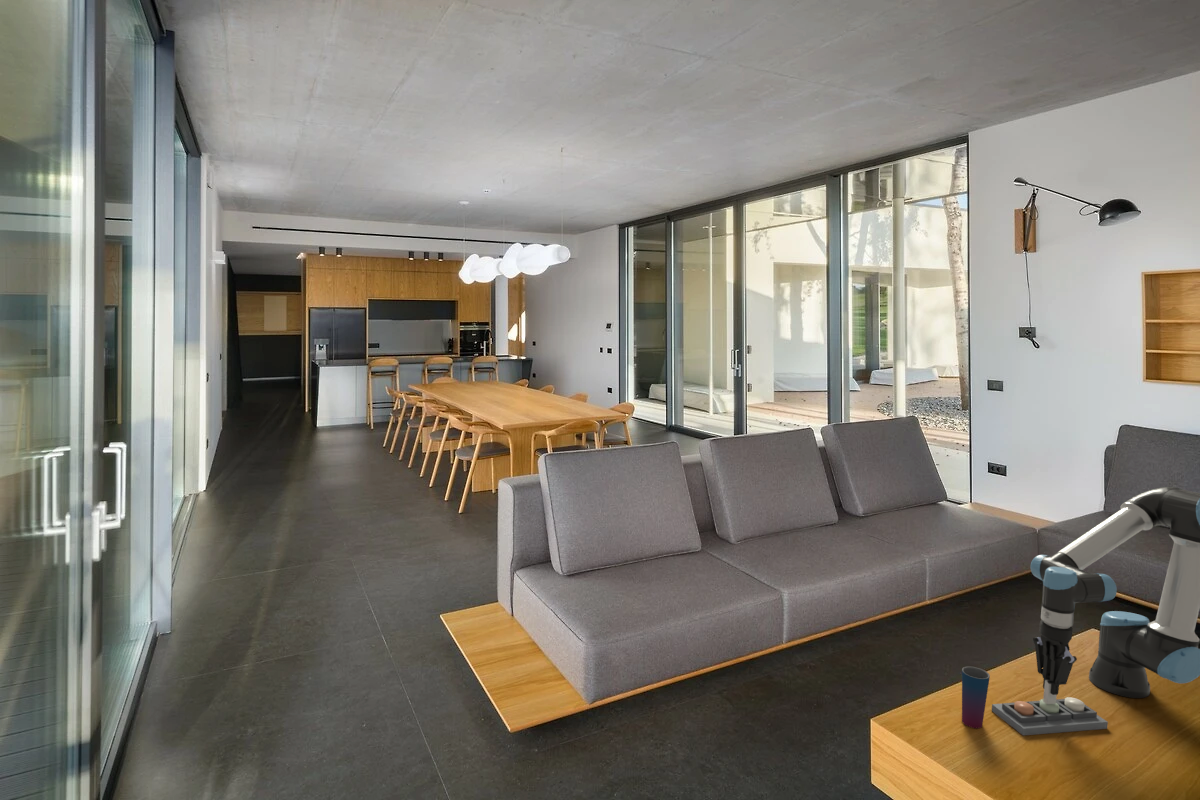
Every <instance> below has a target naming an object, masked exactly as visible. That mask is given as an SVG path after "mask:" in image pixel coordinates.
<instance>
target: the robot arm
mask: <svg viewBox="0 0 1200 800" xmlns="http://www.w3.org/2000/svg"><path fill="white" fill-rule="evenodd" d="M1119 508H1120V509H1119V510H1118V511H1117V512H1114V513H1113V514H1112V515H1111V516H1109V517H1107V518H1106V519H1103V521H1101V522H1100V523H1098V524H1097V525H1096V526H1094V527H1092V528H1091V529H1089V530H1087V532H1085V533H1084V534H1082V535H1081V536H1079V537H1078V538H1076V539H1075V540H1073V541H1072V542H1070V543H1069V544H1067V545H1066V546H1064V547H1063V548H1062V549H1060V550H1058V551H1057V552H1055V553H1054V554H1052V555H1051V556H1050V555H1048V554H1038V555H1036V556H1035V557H1033V559H1032V560H1031V563H1030V572H1031V574H1032V575H1033V576H1034V577H1035V578H1037V579H1039V580H1040V581H1042V599H1041V610H1040V611H1041V612H1040V619H1041V620H1040V622H1039V634H1040V637H1039V636H1038V637H1037V636H1036V637H1032V641H1033V645H1034V647H1035V657H1036V667H1037V673H1038V674H1040V675H1041V676H1042V679H1043V682H1042V687H1043V698H1042V699H1043V702H1044V703H1046V704H1047V705H1048V704H1056V699H1057V695H1059V691H1060V690H1059V689H1060V685H1067V683H1068V679H1069V677H1070V675H1071V671H1072V668H1073V664H1074V663H1075V662H1077V660H1078V658H1077V656H1075V655H1072V654H1071V652H1070V645H1069V643H1070V641H1072V638H1073V626H1074V615H1075V614H1074V613H1075V606H1076V604H1079V603H1080V604H1081V603H1102V602H1107V601H1108V602H1109V601H1111V600H1113V599H1114V598H1115V597H1116V596H1117V592H1118V589H1117V583H1116V582H1115V581H1114V579H1113V578H1112V577H1111V576H1110V575H1108V574H1106V573H1099V572H1094V573H1090V572H1087V571H1085V570H1084V569H1086V568H1088V567H1089V566H1091V565H1092V564H1094V563H1095V562H1097V561H1098V560H1099V559H1101V558H1103V557H1104V556H1105V555H1107V554H1108V553H1110V552H1111V551H1113V550H1114V549H1116V548H1117V547H1119V546H1120V545H1123V544H1124V543H1125V542H1127V541H1128V540H1129V539H1132V537H1134V536H1135V535H1137V534H1138V533H1140V532H1141V531H1150V530H1152V529H1153V528H1154V527H1156V526H1166V527H1170V529H1169V533H1168V535H1169V538H1171V539H1172V541H1173V546H1172V549H1171V553H1170V557H1169V562H1168V566H1167V569H1166V576H1165V578H1164V579H1165V580H1164V583H1163V588H1162V592H1161V595H1160V596H1161V597H1160V600H1159V605H1158V609H1157V613H1156V616H1155V620H1153V621H1150V619H1149V618H1148V617H1147V616H1144V615H1142V614H1137V613H1133V612H1130V611H1129V612H1127V611H1121V610H1119V611H1118V610H1114V611H1113V610H1112V611H1106V612H1104V613H1103V614H1102V616H1101V619H1100V623H1099V635H1098V636H1099V638H1098V648H1097V649H1098V651H1097V657H1096V658H1095V660H1094V662H1093V664H1092V666H1091V668H1090V669H1089V673H1088V679H1089V681H1090V682H1091V684H1093V685H1095V686H1096V687H1097V688H1099V689H1101V690H1104V691H1105V692H1108V693H1111V694H1113V695H1117V696H1121V697H1125V698H1129V699H1130V698H1131V699H1143V698H1147V697H1149V696H1150V692H1151V684H1150V682H1149V681H1148V680H1149V679H1148V675H1147V672H1146V671H1147V670H1149V671H1151V672H1152V673H1155V674H1156V675H1157V676H1159V677H1160V678H1162V679H1166V680H1168V681H1171V682H1173V683H1175V684H1176V683H1177V684H1187V683H1191V682H1192V681H1194V680H1196V679H1198V677H1200V648H1199V644H1200V638H1199V637H1198V635H1197V634H1196V632H1195V630H1196V625H1197V622H1198V617H1199V612H1200V492H1197V491H1196V492H1194V491H1190V490H1188V489H1187V490H1186V489H1182V488H1180V487H1175V486H1173V487H1172V486H1163V487H1157V488H1153V489H1149V490H1146V491H1144V492H1142V493H1138V494H1137V495H1134V496H1133V497H1131V498H1129V499H1127V500H1126V501H1124V502H1123V503H1122V504H1121V505H1120V506H1119ZM1146 669H1147V670H1146Z"/></svg>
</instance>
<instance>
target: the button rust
mask: <svg viewBox="0 0 1200 800" xmlns="http://www.w3.org/2000/svg"><path fill="white" fill-rule="evenodd" d="M1027 702H1028V701H1023V700H1022V701H1021V700H1016V701H1014V703H1015V704H1014V710H1015V711H1017V712H1018V713H1019V714H1021V715H1022V716H1028V715H1033V711H1034V707H1033V706H1032V705H1031V704H1029V703H1027Z"/></svg>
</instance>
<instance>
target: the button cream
mask: <svg viewBox="0 0 1200 800" xmlns="http://www.w3.org/2000/svg"><path fill="white" fill-rule="evenodd" d="M1064 699H1065V703H1064V706H1066V707H1067V708H1069V709H1070V710H1072V711H1073V712H1080V711H1084V705H1086V704H1085V702H1083V701H1082V700H1080V699H1078V698H1076V697H1071V696H1067V697H1065V698H1064Z"/></svg>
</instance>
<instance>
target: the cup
mask: <svg viewBox="0 0 1200 800" xmlns="http://www.w3.org/2000/svg"><path fill="white" fill-rule="evenodd" d="M990 676H991V675H990V673H988V672H987V671H986V670H984V669H982V668H979V667H975V666H964V667H962V669H961V722H962V724H964V725H965V726H966V727H969V728H973V729H980V728H982V727H983V723H984V717H985V709H986V704H987V697H988V690H989V684H990V679H991V678H990Z"/></svg>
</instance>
